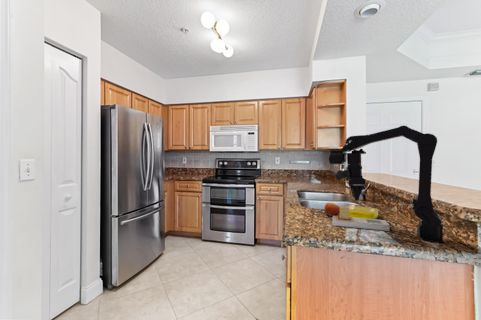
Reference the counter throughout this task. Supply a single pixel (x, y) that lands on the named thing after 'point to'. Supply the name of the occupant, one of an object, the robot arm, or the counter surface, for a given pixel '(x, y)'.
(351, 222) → the rail bar
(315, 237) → the counter surface
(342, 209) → the brass peg
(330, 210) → the fruit
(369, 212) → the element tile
